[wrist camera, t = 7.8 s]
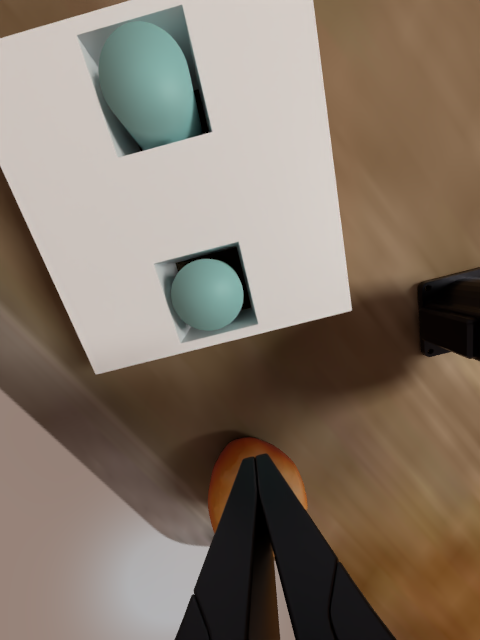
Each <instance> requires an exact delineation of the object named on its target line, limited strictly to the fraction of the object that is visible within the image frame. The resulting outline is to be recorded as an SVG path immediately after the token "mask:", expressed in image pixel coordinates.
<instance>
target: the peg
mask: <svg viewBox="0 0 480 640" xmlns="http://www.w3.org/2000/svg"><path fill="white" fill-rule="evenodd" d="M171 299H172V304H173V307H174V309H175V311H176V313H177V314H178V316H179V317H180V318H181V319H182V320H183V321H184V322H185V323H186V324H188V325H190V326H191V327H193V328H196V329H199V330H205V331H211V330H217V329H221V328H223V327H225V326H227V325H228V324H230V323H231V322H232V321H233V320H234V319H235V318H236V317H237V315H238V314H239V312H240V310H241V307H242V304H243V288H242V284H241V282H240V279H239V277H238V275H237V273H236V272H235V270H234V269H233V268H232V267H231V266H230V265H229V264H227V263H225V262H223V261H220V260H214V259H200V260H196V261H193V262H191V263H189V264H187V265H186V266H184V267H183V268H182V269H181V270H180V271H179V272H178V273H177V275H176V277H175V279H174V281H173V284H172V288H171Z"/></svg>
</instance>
